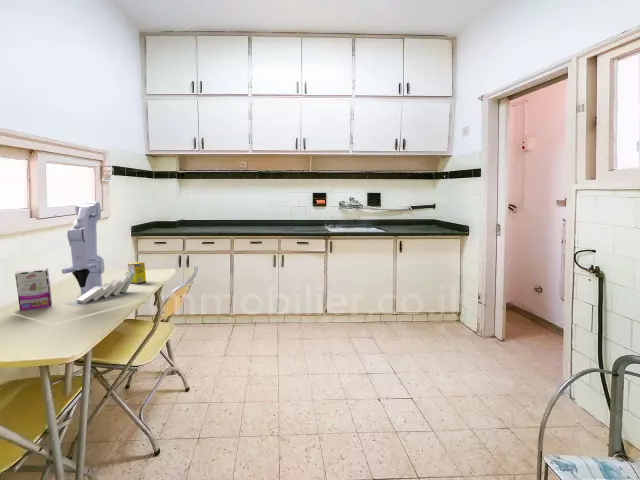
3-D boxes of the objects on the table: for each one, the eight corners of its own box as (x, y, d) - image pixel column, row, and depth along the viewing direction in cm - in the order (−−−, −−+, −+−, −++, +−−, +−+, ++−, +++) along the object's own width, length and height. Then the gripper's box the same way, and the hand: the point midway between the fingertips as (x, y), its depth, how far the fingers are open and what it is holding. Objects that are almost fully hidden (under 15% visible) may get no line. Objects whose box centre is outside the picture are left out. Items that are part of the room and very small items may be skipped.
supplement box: (146, 282, 223) (144, 262, 221) (136, 284, 218) (134, 264, 216) (139, 281, 226) (137, 261, 224) (129, 283, 221) (127, 263, 219)
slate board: (77, 308, 175) (77, 306, 175) (65, 305, 181) (65, 303, 180) (133, 294, 197) (133, 292, 197) (121, 291, 202) (120, 290, 202)
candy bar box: (52, 305, 181) (48, 268, 179) (51, 308, 177) (47, 269, 175) (21, 309, 176) (16, 271, 174) (19, 312, 172) (14, 273, 170)
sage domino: (122, 292, 195) (132, 272, 199) (116, 290, 198) (126, 271, 202) (125, 293, 197) (134, 273, 200) (119, 292, 199) (129, 272, 203)
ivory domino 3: (104, 295, 187) (120, 280, 194) (97, 294, 190) (114, 279, 196) (106, 298, 188) (122, 282, 195) (100, 296, 191) (116, 281, 197)
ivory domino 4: (113, 293, 191) (127, 276, 197) (107, 292, 194) (121, 275, 199) (116, 295, 192) (129, 278, 198) (110, 294, 195) (123, 277, 200)
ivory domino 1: (82, 300, 179) (102, 287, 186) (75, 299, 182) (95, 286, 189) (84, 303, 180) (103, 290, 187) (77, 302, 183) (97, 288, 190)
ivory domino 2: (93, 298, 183) (111, 283, 190) (87, 296, 186) (105, 282, 193) (95, 300, 184) (113, 286, 191) (89, 299, 187) (107, 285, 194)
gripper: (66, 259, 172) (70, 291, 173) (101, 254, 184) (103, 284, 186) (58, 258, 175) (61, 289, 177) (92, 253, 188) (94, 282, 189)
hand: (82, 287), depth 182 cm, fingers closed
